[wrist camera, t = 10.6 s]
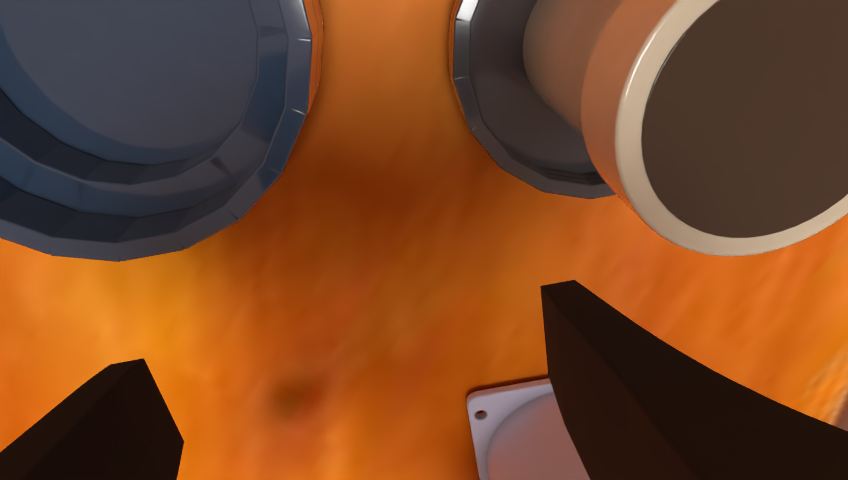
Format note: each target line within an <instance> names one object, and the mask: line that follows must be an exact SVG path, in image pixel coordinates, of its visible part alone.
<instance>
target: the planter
mask: <svg viewBox="0 0 848 480" xmlns="http://www.w3.org/2000/svg"><path fill="white" fill-rule="evenodd" d="M322 23H323V16H322V12H321V8H320V3H319V0H0V238H2V239H5V240H8V241H11V242H14V243H17V244H20V245H23V246H26V247H28V248H31V249H34V250H37V251H40V252H43V253H46V254H51V255H52V256H62V257H73V258H84V259H95V260H105V261H116V262H120V261H126V260H132V259H137V258H143V257H148V256H154V255H159V254H165V253H170V252H176V251H181V250H184V249H187V248H189V247H191V246H193V245H195V244H197V243H199V242H201V241H202V240H204V239H206V238H208V237H210V236H212V235H214V234H216V233H217V232H219V231H221V230H223V229H225V228H227V227H229V226H231V225H232V224H234V223H236V222H238V221H239V219H242V218H243V217H244V216H245V215H246V214H247V212H248V211H249V210H250V209H251V208H252V207H253V206H254V205H255V204H256V203H257V202H258V200H259V199H260V198H261V197H262V196H263V195H264V194H265V193H266V192H267V191H268V190H269V188H270V187H271V186H272V185H273V184H274V183H275V182H276V181H277V180H278V179H279V178H280V176H281V174H282V173H283V172H284V170H285V167H286V165H287V162H288V160H289V158H290V155H291V153H292V151H293V148H294V146H295V143H296V141H297V139H298V136H299V134H300V132H301V129H302V127H303V124H304V122H305V120H306V117H307V115H308V112H309V110H310V108H311V105H312V103H313V100H314V98H315V96H316V93H317V91H318V88H319V83H320V72H321V58H322V43H323V29H324V26H323V24H322Z"/></svg>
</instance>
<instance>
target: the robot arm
mask: <svg viewBox="0 0 848 480" xmlns="http://www.w3.org/2000/svg"><path fill="white" fill-rule="evenodd" d="M541 297H542V308H543V319H544V331H545V342H546V354H547V365H548V376H549V378H547V379H542V380H536V381H531V382H525V383H519V384H514V385H508V386H503V387H497V388H492V389H486V390H480V391H476V392H473V393H471V394H470V395H468V397H467V399H466V404H467V410H468V416H469V421H470V427H471V433H472V439H473V444H474V450H475V456H476V461H477V467H478V473H479V479H480V480H848V431H845V430H843V429H840V428H837V427H835V426H833V425H830V424H828V423H825V422H823V421H820V420H818V419H815V418H813V417H810V416H808V415H805V414H803V413H801V412H798V411H796V410H794V409H791V408H789V407H787V406H785V405H782V404H780V403H778V402H776V401H773V400H771V399H769V398H767V397H765V396H763V395H761V394H759V393H757V392H755V391H753V390H751V389H749V388H747V387H745V386H742V385H740V384H738V383H736V382H734V381H732V380H730V379H728V378H726V377H724V376H723V375H721V374H719V373H717V372H715V371H713V370H711V369H709V368H708V367H706V366H704V365H703V364H701V363H699V362H697V361H696V360H694V359H692V358H690V357H689V356H687V355H685V354H683V353H682V352H680V351H678V350H677V349H675V348H673V347H672V346H670V345H668V344H667V343H665V342H664V341H662V340H660V339H659V338H657V337H656V336H654V335H653V334H651V333H650V332H648V331H646V330H645V329H643V328H642V327H640V326H639V325H637V324H636V323H634V322H633V321H632V320H630V319H629V318H627V317H626V316H624V315H623V314H621V313H620V312H619V311H617V310H616V309H614V308H613V307H612V306H610V305H609V304H607V303H606V302H605V301H603V300H602V299H600V298H599V297H598V296H596V295H595V294H594V293H592V292H591V291H589V290H588V289H587V288H585V287H584V286H582V285H581V284H580V283H578V282H577V281H575V280H571V281H566V282H560V283H555V284H549V285H544V286H541ZM480 410H483V411H484V412H482V413H476V412H477V411H480ZM183 444H184V441H183V438H182V436H181V434H180V432H179V430H178V428H177V426H176V424H175V422H174V420H173V418H172V416H171V414H170V412H169V410H168V408H167V405H166V403H165V401H164V399H163V397H162V395H161V393H160V391H159V389H158V387H157V385H156V383H155V381H154V379H153V377H152V374H151V372H150V370H149V368H148V366H147V364H146V362H145V360H144V359H138V360H133V361H127V362H122V363H116V364H111V365H109V366H108V367H106V368H105V369H103V370H102V371H100V372H99V373H98V374H96V375H95V376H93V377H92V378H91V379H90V380H88V381H87V382H86V383H84V384H83V385H82V386H81V387H79V388H78V389H77V390H76V391H74V392H73V393H72V394H71V395H69V396H68V397H67V398H66V399H64V400H63V401H62V402H61V403H60V404H58V405H57V406H56V407H55V408H54V409H52V410H51V411H50V412H49V413H48V414H46V415H45V416H44V417H43V418H41V419H40V420H39V421H38V422H37V423H35V424H34V425H33V426H32V427H31V428H29V429H28V430H27V431H26V432H25V433H23V434H22V435H21V436H20V437H18V438H17V439H16V440H15V441H14V442H12V443H11V444H10V445H9V446H8V447H6V448H5V449H4V450H3V451H1V452H0V480H176V479H177V475H178V470H179V465H180V460H181V455H182V449H183Z"/></svg>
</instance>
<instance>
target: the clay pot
mask: <svg viewBox="0 0 848 480" xmlns="http://www.w3.org/2000/svg"><path fill="white" fill-rule="evenodd" d="M523 60H524V67H525V70H526V74H527V77H528V79H529V82H530V84H531V86H532V87H533V89H534V91H535V92H536V94H537V95H538V96H539V97H540V98H541V100H542V101H543V102H544V103H546V104H547V105H548V106H549V107H550V108H551V109H552V110H553V111H554V112H556V113H557V114H558V115H559V116H560V117H561V118H562V119H563V120H564V121H565V122H567V123H568V124H569V125H570V126H571V127H572V128H573V129H574V130H575V131H577V132H578V133H579V134H580V135H581V136H582V137H583V138H584V140H585V144H586V148H587V151H588V153H589V156H590V158H591V160H592V163H593V165H594V166H595V168H596V170H597V171H598V173H599V174H600V176H601V178H602V179H603V180H604V181H605V182H606V183H607V185H608V186H609V187H610V188H611V189H612V190H613V191H614V192H615V193H616V194H617V195H618V196H619V197H620V198H621V199H622V200H623V201H624V202H625V203H626V204H627V205H628V206H629V207H630V208H631V209H632V210H633V211H634V212H635V213H636V215H637V216H638V217H639V218H640V219H641V220H642V221H643V222H644V223H645V224H646V225H648V226H649V227H650V228H651V229H652V230H653V231H655V232H656V233H657V234H658V235H660V236H661V237H663V238H665V239H666V240H668V241H670V242H671V243H673V244H675V245H678V246H680V247H683V248H685V249H687V250H691V251H695V252H699V253H703V254H709V255H717V256H746V255H754V254H761V253H765V252H769V251H773V250H778V249H781V248H783V247H786V246H789V245H792V244H795V243H797V242H800V241H802V240H804V239H806V238H808V237H810V236H813V235H815V234H817V233H818V232H820V231H822V230H823V229H825V228H827V227H829V226H830V225H832V224H834V223H835V222H836V221H838V220H839V219H841V218H842V217H843V216H845V215H846V214H848V0H537V2H536V3H535V5H534V7H533V9H532V11H531V13H530V16H529V19H528V21H527V24H526V28H525V33H524V39H523Z"/></svg>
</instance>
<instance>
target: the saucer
mask: <svg viewBox="0 0 848 480" xmlns="http://www.w3.org/2000/svg"><path fill="white" fill-rule="evenodd" d="M536 2H537V0H455V1H454V5H453V8H452V12H451V17H450V26H449V38H448V56H449V72H450V73H449V75H450V78H451V81H452V84H453V88H454V91H455V94H456V97H457V100H458V103H459V106H460V108H461V111H462V114H463V118H464V120H465V122H466V124H467V126H468V128H469V130H470V132H471V133H472V134H473V135H474V137H475V138H476V139H477V140H478V141H479V143H480V144H481V145H482V146H483V148H484V149H485V150H486V151H487V153H488V154H489V155H490V156H491V157H492V159H493V160H494V161H495V162H496V164H497V165H498V166H499V167H500V168H501V169H502V170H504V171H506V172H508V173H509V174H511V175H513V176H515V177H517V178H518V179H520V180H522V181H524V182H525V183H527V184H529V185H531V186H533V187H534V188H536V189H538V190H540V191H543V192H546V193H553V194H559V195H566V196H572V197H579V198H586V199H594V198H600V197H605V196H611V195H616V193H615V192H614V191H613V190H612V189H611V188H610V187H609V186H608V185H607V183H606V182H605V181H604V180H603V179H602V178H601V176H600V174H599V173H598V171H597V170H596V168H595V166H594V165H593V163H592V160H591V158H590V156H589V153H588V151H587V148H586V144H585V140H584V138H583V137H582V136H581V135H580V134H579V133H578V132H577V131H575V130H574V129H573V128H572V127H571V126H570V125H569V124H568V123H567V122H565V121H564V120H563V119H562V118H561V117H560V116H559V115H558V114H557V113H556V112H554V111H553V110H552V109H551V108H550V107H549V106H548V105H547V104H546V103H544V102H543V101H542V100H541V98H540V97H539V96H538V95H537V94H536V92H535V91H534V89H533V87H532V86H531V84H530V82H529V79H528V77H527V74H526V70H525V67H524V60H523V39H524V33H525V28H526V24H527V21H528V19H529V16H530V13H531V11H532V9H533V7H534V5H535V3H536Z"/></svg>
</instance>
